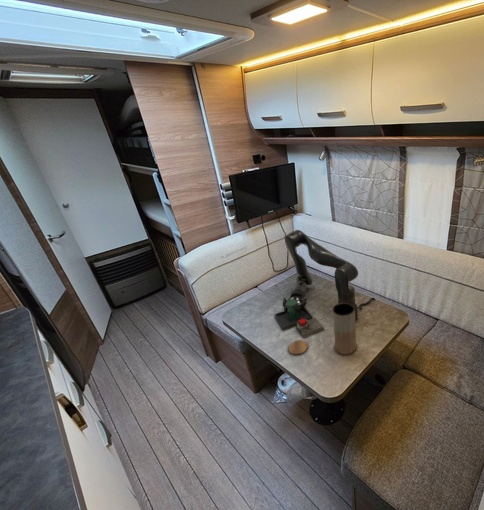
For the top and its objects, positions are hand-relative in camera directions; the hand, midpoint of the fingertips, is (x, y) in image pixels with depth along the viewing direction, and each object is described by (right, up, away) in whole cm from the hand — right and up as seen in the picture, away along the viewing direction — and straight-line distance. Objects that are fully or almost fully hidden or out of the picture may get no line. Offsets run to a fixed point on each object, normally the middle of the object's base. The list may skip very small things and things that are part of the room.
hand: (291, 310), depth 154 cm
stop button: (+7, -6, -6) cm, 11 cm away
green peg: (+1, -5, +5) cm, 7 cm away
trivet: (+6, -15, -17) cm, 24 cm away
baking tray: (+1, -5, +5) cm, 7 cm away
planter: (+30, -15, -18) cm, 38 cm away
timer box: (+11, -9, -4) cm, 15 cm away
